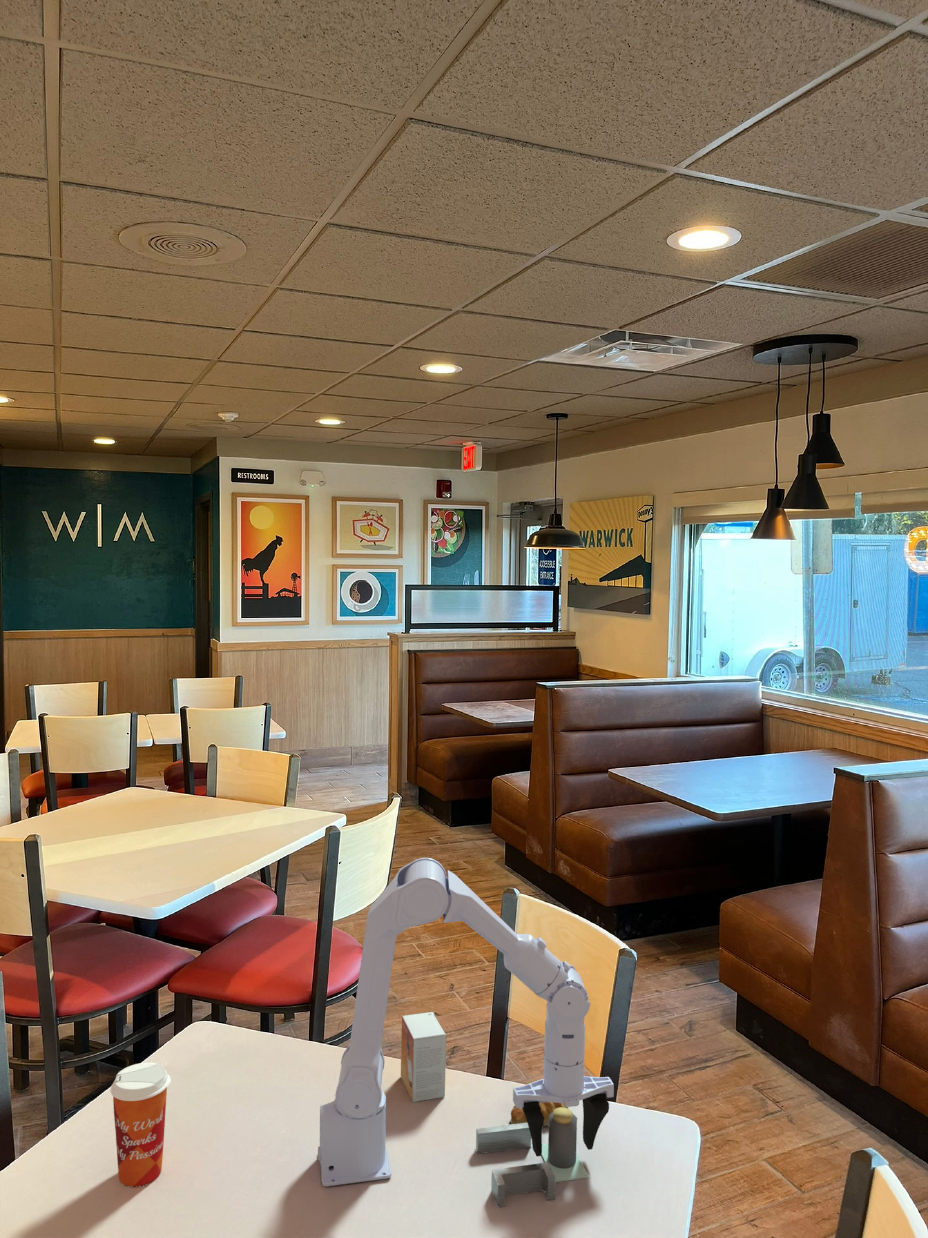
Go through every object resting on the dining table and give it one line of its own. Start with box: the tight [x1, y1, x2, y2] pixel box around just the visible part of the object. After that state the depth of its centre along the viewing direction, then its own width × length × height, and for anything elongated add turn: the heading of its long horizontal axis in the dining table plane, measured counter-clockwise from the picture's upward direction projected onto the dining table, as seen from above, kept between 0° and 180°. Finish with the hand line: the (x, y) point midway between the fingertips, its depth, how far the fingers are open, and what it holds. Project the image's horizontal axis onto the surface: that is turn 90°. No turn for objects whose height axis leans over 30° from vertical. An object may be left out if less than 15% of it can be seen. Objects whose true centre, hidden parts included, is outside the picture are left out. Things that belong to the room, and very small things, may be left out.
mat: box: [541, 1143, 589, 1183], centre depth 127 cm, size 5×8×1 cm, turn 12°
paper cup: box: [110, 1062, 172, 1188], centre depth 123 cm, size 8×8×14 cm
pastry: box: [510, 1102, 569, 1128], centre depth 138 cm, size 9×7×4 cm
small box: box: [400, 1011, 447, 1103], centre depth 145 cm, size 8×6×10 cm
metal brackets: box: [475, 1123, 556, 1208], centre depth 124 cm, size 8×12×3 cm, turn 12°
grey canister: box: [547, 1107, 578, 1169], centre depth 127 cm, size 4×4×7 cm
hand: (562, 1148), depth 127 cm, fingers open, 7 cm apart
